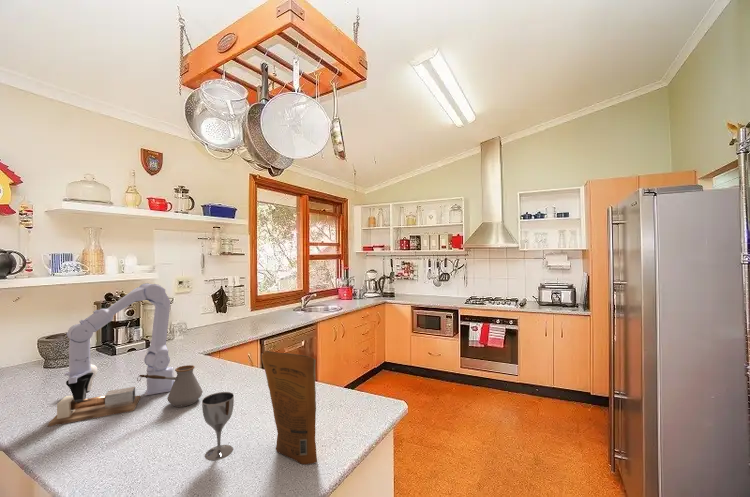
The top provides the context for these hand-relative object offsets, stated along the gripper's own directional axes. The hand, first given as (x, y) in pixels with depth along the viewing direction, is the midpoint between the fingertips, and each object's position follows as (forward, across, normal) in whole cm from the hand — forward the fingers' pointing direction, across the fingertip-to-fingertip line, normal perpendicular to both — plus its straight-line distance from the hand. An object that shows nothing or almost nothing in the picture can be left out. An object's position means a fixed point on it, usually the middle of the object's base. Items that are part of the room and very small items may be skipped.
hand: (80, 397), depth 117 cm
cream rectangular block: (+6, 0, -4) cm, 7 cm away
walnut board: (+6, 0, +5) cm, 8 cm away
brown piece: (+4, 0, +3) cm, 5 cm away
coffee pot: (+6, +10, +28) cm, 31 cm away
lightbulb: (+6, -25, -4) cm, 26 cm away
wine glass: (+6, +49, +44) cm, 66 cm away
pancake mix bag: (+6, +60, +62) cm, 86 cm away
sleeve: (+6, 0, +12) cm, 13 cm away
